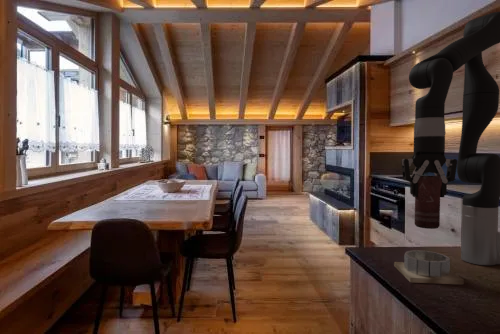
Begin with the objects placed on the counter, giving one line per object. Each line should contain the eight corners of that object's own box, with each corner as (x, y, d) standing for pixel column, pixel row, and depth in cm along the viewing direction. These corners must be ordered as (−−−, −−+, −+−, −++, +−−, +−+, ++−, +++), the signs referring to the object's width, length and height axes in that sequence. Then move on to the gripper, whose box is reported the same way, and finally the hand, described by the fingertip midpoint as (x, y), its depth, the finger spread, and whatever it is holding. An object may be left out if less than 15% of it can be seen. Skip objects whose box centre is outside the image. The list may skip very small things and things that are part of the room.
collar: (438, 264, 98) (438, 250, 98) (457, 278, 88) (457, 262, 88) (399, 263, 100) (399, 249, 99) (413, 276, 89) (413, 261, 89)
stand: (440, 267, 100) (440, 263, 99) (463, 284, 87) (463, 279, 87) (394, 265, 101) (394, 261, 101) (410, 282, 88) (410, 277, 88)
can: (444, 229, 90) (445, 176, 89) (417, 228, 91) (419, 176, 90) (436, 224, 96) (437, 175, 95) (411, 223, 97) (413, 174, 96)
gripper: (450, 136, 95) (449, 195, 96) (397, 136, 97) (396, 195, 97) (464, 134, 88) (462, 199, 89) (406, 134, 89) (405, 198, 90)
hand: (427, 196), depth 93 cm, fingers closed on can, 6 cm apart
